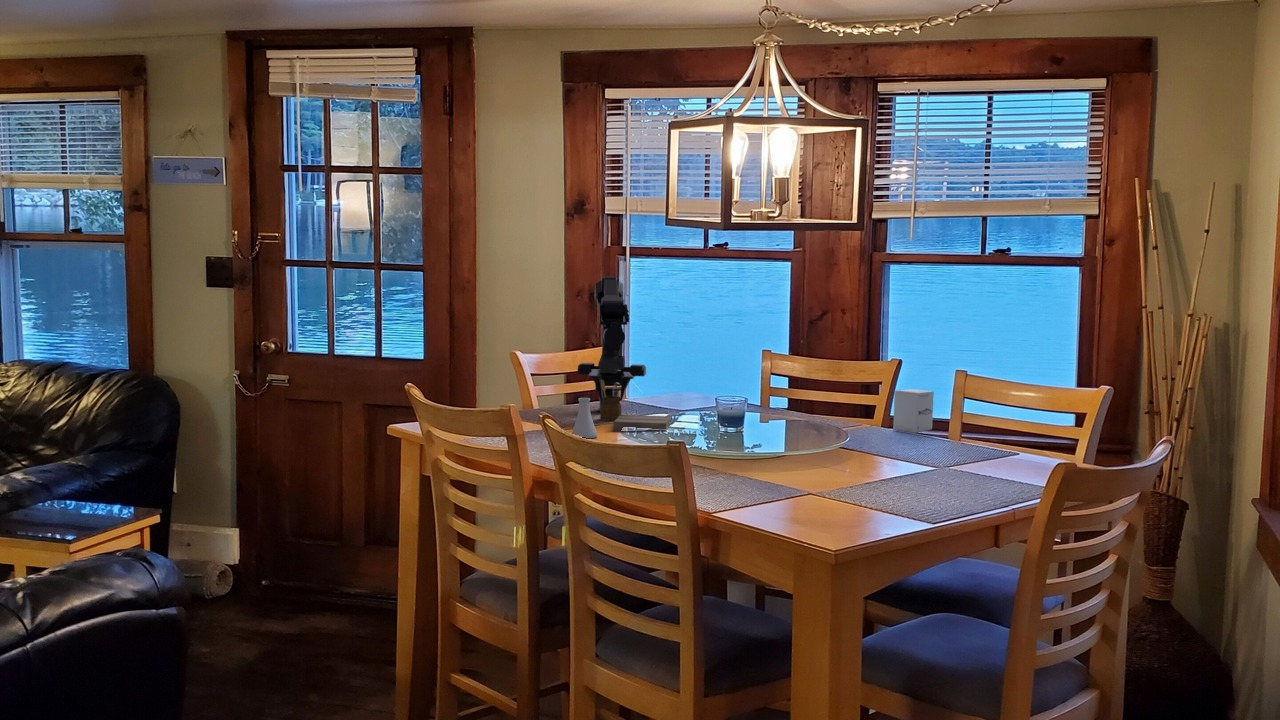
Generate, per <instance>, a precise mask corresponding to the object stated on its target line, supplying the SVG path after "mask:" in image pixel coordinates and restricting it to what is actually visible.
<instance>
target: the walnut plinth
mask: <svg viewBox="0 0 1280 720" xmlns="http://www.w3.org/2000/svg"><path fill="white" fill-rule="evenodd" d="M612 422H613V423H612V424H613V425H612V427H613V430H612V431H613V432H621V430H622V428H623V427H636V428H652V429H666V428H667V427H668V425H669V423H670V422H671V423H672V416H669V415H667V416H666V415H665V416H664V415H638V414H637V415H635V414H633V415H632V414H621V415H620V416H619V417H618V418H617V419H616V420H615V421H612ZM671 423H670V424H671ZM669 426H670V425H669ZM668 428H669V427H668ZM668 428H667V429H668Z"/></svg>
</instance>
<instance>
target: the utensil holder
mask: <svg viewBox="0 0 1280 720" xmlns="http://www.w3.org/2000/svg"><path fill="white" fill-rule="evenodd" d="M600 381H601V380H600ZM617 383H618V382H617ZM615 384H616V383H615ZM619 385H620V384H619ZM601 387H602V390H603V391H604V396H603V397H602V401H603V402H602V403H601V407H600V406H599V408H600V412H599V413H600V415H599V416H600V417H599V419H600V421H602V422H614V421H615V420H616V419H617V418H618V417H619V416H620V415H622V404H621V401H620V396H619V397H618V395H617V394H616V395H617V396H606V394H605V390H606V389H605V387H606V386H605V384H604V380H602V381H601ZM615 387H619V388H621V385H620V386H615ZM613 389H614V388H613ZM614 390H615V389H614ZM612 393H613V391H612ZM615 393H616V392H615ZM618 393H619V394H621V391H619V392H618Z"/></svg>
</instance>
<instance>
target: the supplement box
mask: <svg viewBox="0 0 1280 720" xmlns="http://www.w3.org/2000/svg"><path fill="white" fill-rule="evenodd" d="M933 412H934V390H925V389H916V388H915V389H913V388H909V389H899V390H898V389H897V390H894V400H893V422H892V423H893V427H892V429H893V430H894V431H900V432H907V433H915V434H918V433H921V432H926V431H930V430H933V418H934V417H933V416H934V415H933Z"/></svg>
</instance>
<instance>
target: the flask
mask: <svg viewBox="0 0 1280 720" xmlns="http://www.w3.org/2000/svg"><path fill="white" fill-rule="evenodd" d="M577 400H578V402H579V403H578V412H577V415H576V417H575V419H576V420H575V421H574V424H573V428H572V431H571V433H572V434H575V435H579V436H582V437H586V438H587V439H593V438H598V432H597V429H596V426H595V424H594V421H593V417H592V414H591V409H590V401H591V398H590V397H579V398H578V399H577ZM586 438H585V439H586Z"/></svg>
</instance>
